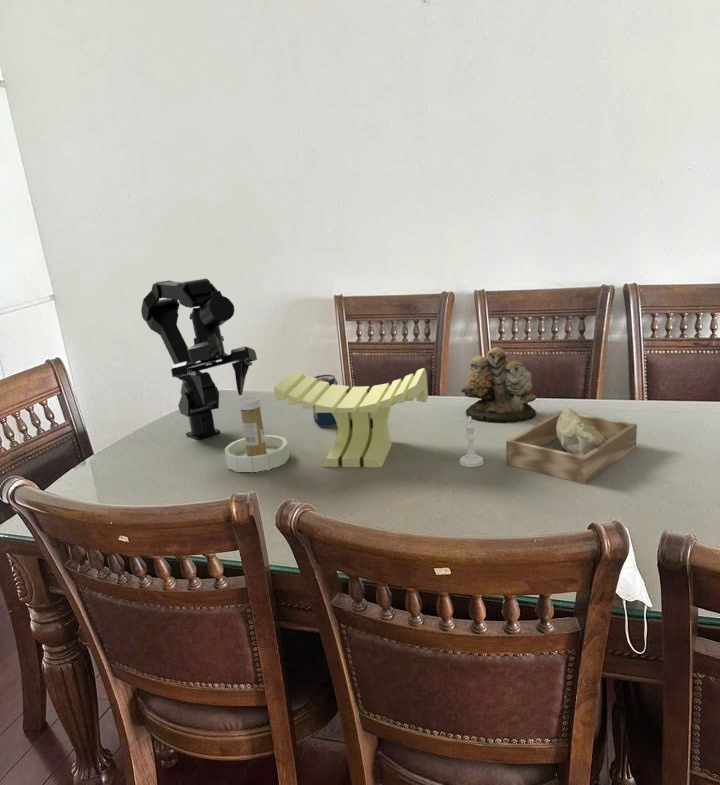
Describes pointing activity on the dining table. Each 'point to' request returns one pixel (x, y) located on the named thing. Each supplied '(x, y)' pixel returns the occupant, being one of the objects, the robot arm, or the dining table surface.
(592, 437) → the pale beige rock
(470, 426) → the chess piece
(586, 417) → the light brown wooden tray
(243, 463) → the bowl
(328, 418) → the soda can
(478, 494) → the dining table surface
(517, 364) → the owl figurine
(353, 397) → the slatted curved stool
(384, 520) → the dining table surface
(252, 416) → the sprinkles bottle
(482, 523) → the dining table surface
